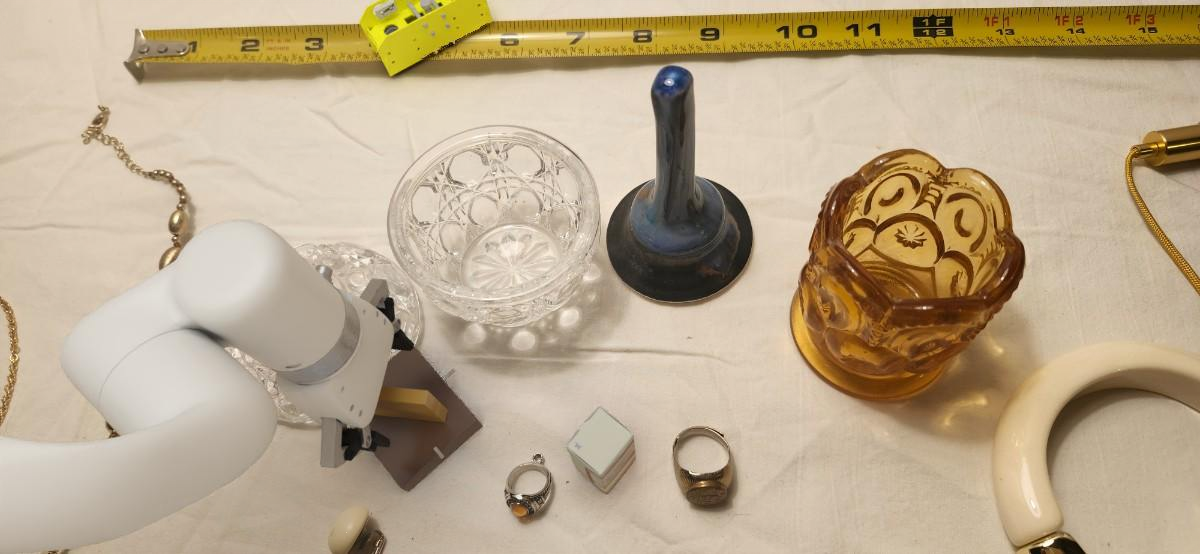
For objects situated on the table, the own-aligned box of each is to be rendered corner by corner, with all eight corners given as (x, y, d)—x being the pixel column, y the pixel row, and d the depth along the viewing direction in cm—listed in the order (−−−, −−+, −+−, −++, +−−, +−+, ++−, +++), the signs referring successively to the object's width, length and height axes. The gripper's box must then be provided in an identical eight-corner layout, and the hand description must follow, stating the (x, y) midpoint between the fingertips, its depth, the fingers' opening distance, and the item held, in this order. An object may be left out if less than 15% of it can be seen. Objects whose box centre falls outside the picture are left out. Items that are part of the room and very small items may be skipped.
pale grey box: (607, 496, 75) (598, 478, 66) (574, 468, 76) (561, 447, 67) (640, 456, 76) (635, 433, 67) (607, 429, 78) (598, 403, 68)
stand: (498, 419, 79) (492, 413, 77) (399, 507, 76) (390, 503, 74) (425, 336, 84) (418, 328, 82) (330, 416, 81) (319, 409, 79)
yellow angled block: (448, 409, 77) (427, 389, 71) (445, 422, 77) (424, 403, 70) (366, 400, 79) (339, 380, 72) (363, 413, 78) (335, 394, 72)
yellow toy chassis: (475, 2, 105) (460, -46, 98) (495, 26, 103) (481, -21, 96) (376, 55, 103) (352, 10, 95) (393, 81, 101) (370, 37, 93)
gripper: (296, 229, 61) (373, 308, 76) (226, 438, 54) (327, 478, 69) (382, 236, 60) (443, 314, 75) (322, 450, 53) (403, 488, 68)
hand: (387, 393), depth 72 cm, fingers open, 9 cm apart
